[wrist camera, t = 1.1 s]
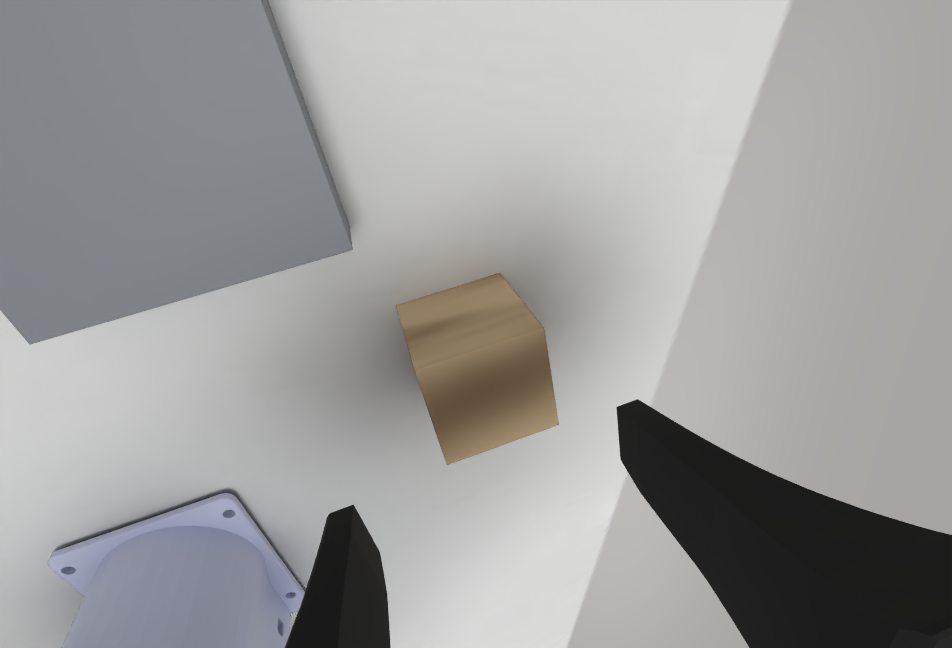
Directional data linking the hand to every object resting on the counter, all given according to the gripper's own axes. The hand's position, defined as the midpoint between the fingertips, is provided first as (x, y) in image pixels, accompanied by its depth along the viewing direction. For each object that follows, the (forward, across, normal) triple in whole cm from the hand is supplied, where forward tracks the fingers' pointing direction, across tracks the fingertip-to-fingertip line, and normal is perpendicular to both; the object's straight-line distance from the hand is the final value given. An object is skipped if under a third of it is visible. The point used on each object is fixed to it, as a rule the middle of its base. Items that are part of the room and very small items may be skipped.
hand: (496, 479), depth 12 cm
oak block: (+10, -1, +1) cm, 10 cm away
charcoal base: (+10, +7, -10) cm, 15 cm away
